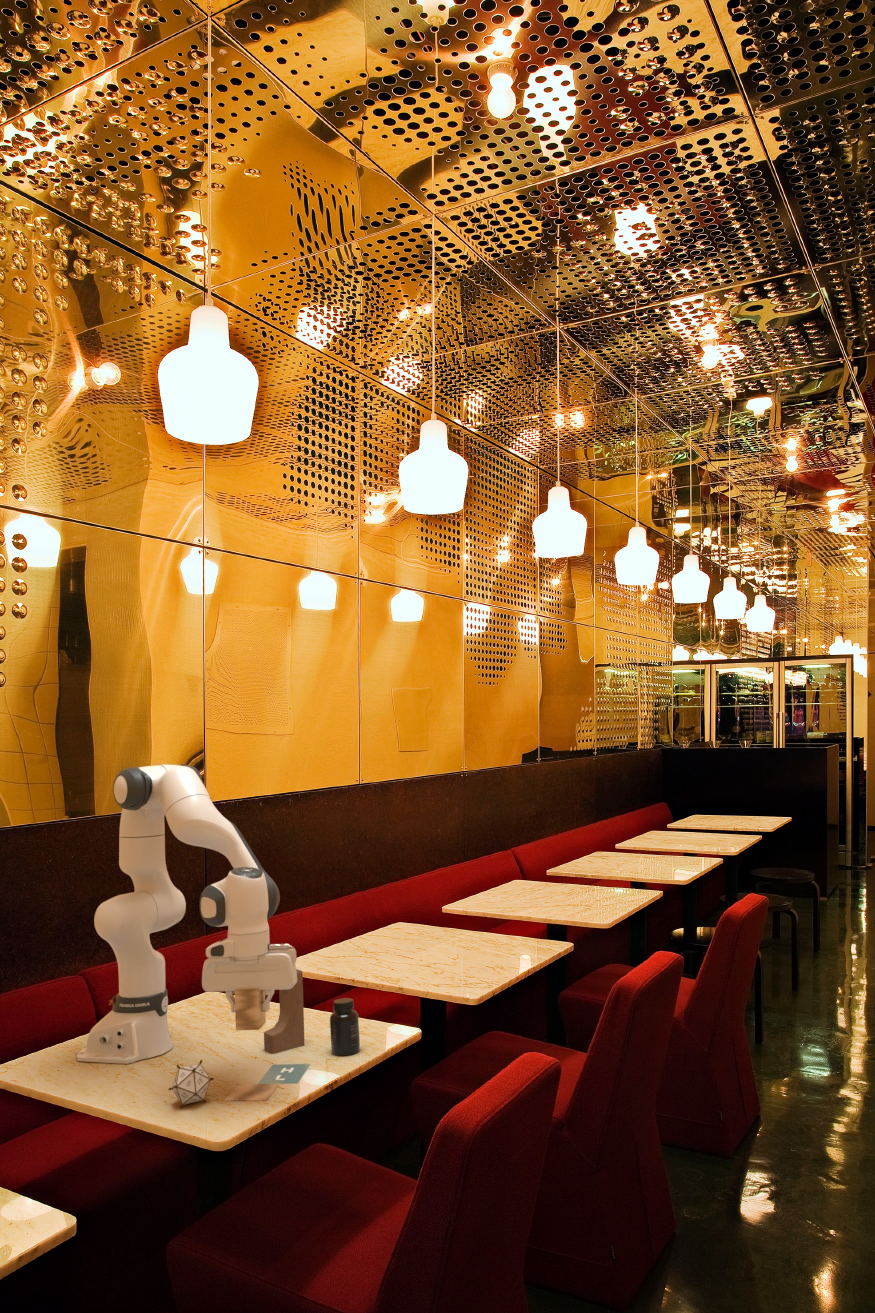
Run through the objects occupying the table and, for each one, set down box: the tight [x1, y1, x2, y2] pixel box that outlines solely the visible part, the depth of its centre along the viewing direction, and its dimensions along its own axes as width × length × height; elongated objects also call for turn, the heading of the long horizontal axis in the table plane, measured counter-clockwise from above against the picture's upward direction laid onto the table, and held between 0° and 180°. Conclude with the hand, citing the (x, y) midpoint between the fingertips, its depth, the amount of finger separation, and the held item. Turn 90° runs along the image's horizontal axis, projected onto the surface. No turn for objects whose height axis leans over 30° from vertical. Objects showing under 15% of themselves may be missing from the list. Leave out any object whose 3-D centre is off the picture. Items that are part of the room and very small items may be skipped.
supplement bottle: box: [329, 997, 361, 1057], centre depth 208 cm, size 7×7×12 cm
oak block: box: [234, 989, 267, 1031], centre depth 186 cm, size 5×5×8 cm
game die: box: [167, 1059, 215, 1109], centre depth 181 cm, size 9×8×10 cm
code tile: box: [257, 1063, 311, 1085], centre depth 195 cm, size 9×12×1 cm
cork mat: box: [224, 1083, 280, 1103], centre depth 184 cm, size 9×9×1 cm
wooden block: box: [263, 968, 305, 1055], centre depth 214 cm, size 9×4×18 cm, turn 129°
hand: (250, 1011), depth 186 cm, fingers closed on oak block, 5 cm apart
